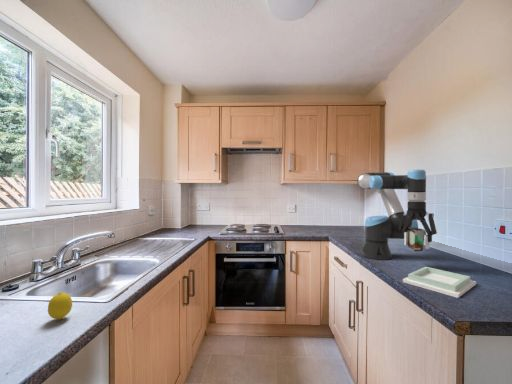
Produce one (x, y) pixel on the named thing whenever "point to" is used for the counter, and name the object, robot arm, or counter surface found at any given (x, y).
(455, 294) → the pocket plate
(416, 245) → the food container
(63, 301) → the lemon
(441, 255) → the counter surface
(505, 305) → the counter surface
